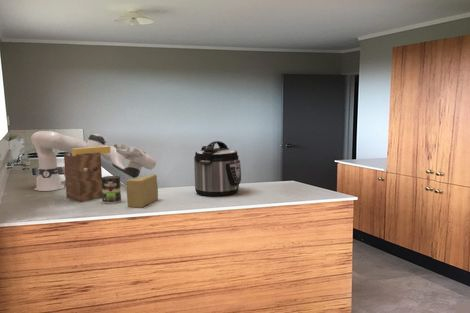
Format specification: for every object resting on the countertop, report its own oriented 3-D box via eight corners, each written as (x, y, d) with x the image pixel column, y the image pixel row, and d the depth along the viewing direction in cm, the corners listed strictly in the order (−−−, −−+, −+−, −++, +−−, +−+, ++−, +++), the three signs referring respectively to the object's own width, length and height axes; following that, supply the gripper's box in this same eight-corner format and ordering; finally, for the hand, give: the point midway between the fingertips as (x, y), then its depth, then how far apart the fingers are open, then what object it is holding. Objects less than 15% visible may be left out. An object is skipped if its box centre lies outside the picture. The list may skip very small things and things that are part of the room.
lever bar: (107, 152, 268) (106, 146, 268) (110, 153, 265) (110, 146, 265) (72, 155, 253) (71, 148, 252) (75, 156, 250) (74, 149, 250)
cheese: (149, 199, 255) (148, 173, 254) (164, 200, 252) (163, 174, 250) (126, 207, 235) (125, 179, 234) (141, 208, 231) (140, 179, 230)
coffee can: (120, 203, 246) (119, 177, 244) (101, 204, 244) (100, 178, 242) (121, 199, 256) (120, 175, 254) (103, 200, 254) (102, 176, 252)
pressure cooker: (207, 199, 250) (206, 143, 246) (185, 192, 273) (183, 141, 270) (251, 193, 266) (250, 141, 263) (225, 187, 289) (224, 139, 286)
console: (88, 194, 273) (86, 151, 270) (103, 198, 259) (101, 152, 257) (66, 198, 263) (63, 153, 260) (81, 202, 250) (78, 154, 247)
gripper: (142, 160, 275) (125, 150, 265) (124, 158, 289) (107, 149, 280) (146, 151, 276) (129, 141, 267) (128, 149, 291) (111, 140, 282)
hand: (118, 145), depth 274 cm, fingers open, 8 cm apart
